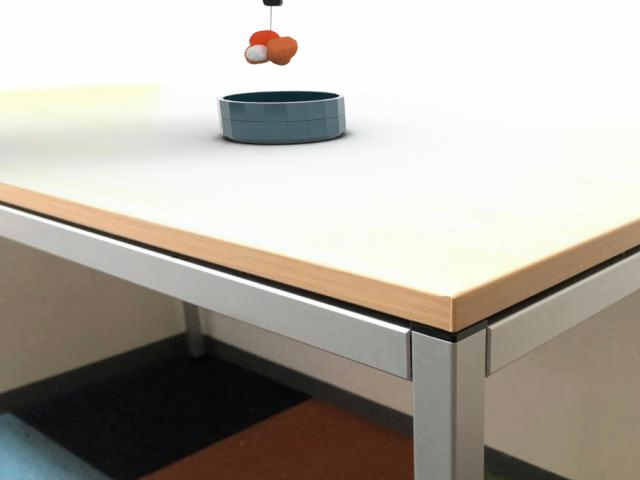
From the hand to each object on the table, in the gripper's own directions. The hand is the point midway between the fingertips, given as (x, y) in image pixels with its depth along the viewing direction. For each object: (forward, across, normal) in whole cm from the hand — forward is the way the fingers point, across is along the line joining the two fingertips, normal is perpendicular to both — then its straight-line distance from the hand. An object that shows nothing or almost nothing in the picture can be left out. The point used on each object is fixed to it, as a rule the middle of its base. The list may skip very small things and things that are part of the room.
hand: (273, 5), depth 94 cm
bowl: (+16, 0, 0) cm, 16 cm away
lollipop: (+7, +1, 0) cm, 7 cm away
